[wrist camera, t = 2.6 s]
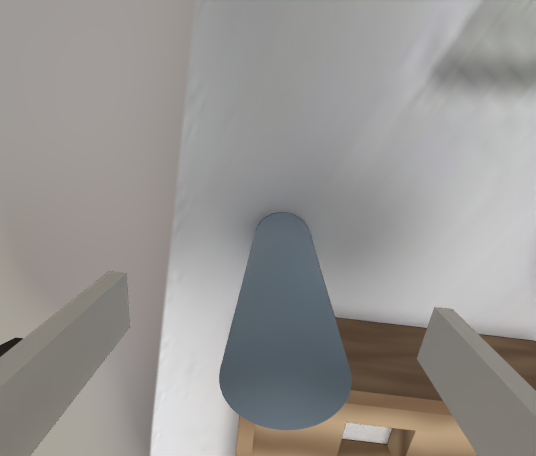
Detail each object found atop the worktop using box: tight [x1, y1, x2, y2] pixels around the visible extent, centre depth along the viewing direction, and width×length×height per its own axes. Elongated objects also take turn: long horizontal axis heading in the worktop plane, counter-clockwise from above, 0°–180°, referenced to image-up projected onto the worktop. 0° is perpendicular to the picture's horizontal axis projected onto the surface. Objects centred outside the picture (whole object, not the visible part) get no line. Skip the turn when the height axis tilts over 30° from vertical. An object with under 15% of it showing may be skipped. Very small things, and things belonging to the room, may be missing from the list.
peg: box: [219, 212, 352, 430], centre depth 14 cm, size 4×4×12 cm
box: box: [236, 318, 536, 456], centre depth 22 cm, size 18×22×6 cm
